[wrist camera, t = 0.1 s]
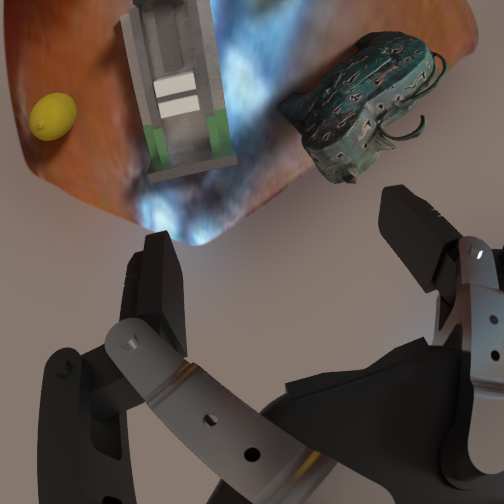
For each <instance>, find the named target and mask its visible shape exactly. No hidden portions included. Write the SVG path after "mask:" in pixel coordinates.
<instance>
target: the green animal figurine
mask: <svg viewBox="0 0 504 504" xmlns="http://www.w3.org/2000/svg"><path fill="white" fill-rule="evenodd" d="M356 45H357V46H358V47H359V49H360V50H361V51H359V52H358V53H356V54H355V55H354V56H352V57H350V58H348V59H347V60H345V61H344V62H342V63H340V64H339V65H338V66H336V67H335V68H333V69H332V70H330V71H329V72H328V73H326V74H325V75H324V76H322V80H321V84H320V86H319V87H318V88H316V89H315V90H314V91H313V92H310V93H308V94H305V95H300V94H298V93H296V92H293V93H292V94H291V95H290V96H289V97H288V99H287V100H286V101H285V102H283V103H282V104H281V105H280V106H278V107H277V109H278V110H279V111H280V112H281V113H282V115H283V116H284V117H285V118H286V119H287V120H288V121H289V122H290V123H291V124H292V125H293V126H294V127H295V128H296V129H297V130H298V132H299V133H300V134H301V135H302V140H301V141H302V145H303V147H304V149H305V150H306V151H307V153H308V154H309V155H310V157H311V158H312V160H313V161H314V163H315V165H316V166H317V168H318V170H319V171H320V172H321V174H322V175H323V176H324V177H325V178H326V179H327V180H328V181H330V182H332V183H334V184H336V183H342V182H346V183H354V184H355V183H356V181H357V176H358V175H359V174H361V173H362V172H363V171H365V170H366V169H367V168H368V167H369V166H370V165H371V164H372V163H373V162H374V161H375V160H376V159H377V157H378V156H379V154H380V152H381V150H383V149H395V146H394V145H393V144H392V143H390V142H389V141H388V140H386V139H385V138H384V136H386V137H388V138H390V139H392V140H396V141H404V140H409V139H412V138H415V137H418V136H420V135H421V134H422V133H423V132H424V131H425V129H426V119H425V116H423V115H421V123H420V126H419V127H418V128H417V129H416V130H415V131H414V132H412V133H410V134H408V135H406V136H402V137H392V136H390V135H388V134H386V133H385V132H384V131H383V128H384V127H386V126H387V125H388V124H390V123H392V122H393V121H395V120H396V119H399V118H400V117H402V116H403V115H405V114H406V113H407V112H409V111H410V110H411V109H412V108H413V107H414V106H415V105H416V104H417V103H418V102H419V100H420V99H421V97H423V96H424V95H426V94H428V93H429V92H431V91H432V90H433V89H434V88H435V87H436V86H437V85H438V84H439V83H440V82H441V81H442V80H443V78H444V77H445V75H446V73H447V71H448V65H447V63H446V61H445V59H444V58H443V57H442V56H441V55H439V54H438V53H435V52H432V51H430V50H429V49H428V47H427V45H426V44H425V43H424V42H423V41H422V40H420V39H418V38H416V37H413V36H410V35H406V34H404V33H402V32H393V31H390V32H387V31H384V32H372V33H369V34H368V35H366V36H363V37H362V38H361V39H360V40H359V41H358V42H357V43H356ZM434 56H438V57H439V58H440V59H441V60H442V63H443V71H442V73H441V74H440V76H439V77H438V79H437V80H436V77H437V75H438V68H437V65H436V62H435V60H434ZM383 135H384V136H383Z"/></svg>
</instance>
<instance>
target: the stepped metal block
mask: <svg viewBox="0 0 504 504" xmlns="http://www.w3.org/2000/svg"><path fill="white" fill-rule="evenodd" d="M182 3H184V0H133V4H134V5H135V6H136V7H138V8H139V9H141V10H142V11H143V12H147V11H151V10H153V11H154V17H155V23H156V29H157V35H158V41H159V46H160V52H161V57H162V63H163V68H164V73H168V72H172V71H176V70H181V69H183V63H182V57H181V51H180V45H179V39H178V33H177V27H176V21H175V15H174V9H173V5H177V4H182Z"/></svg>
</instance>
